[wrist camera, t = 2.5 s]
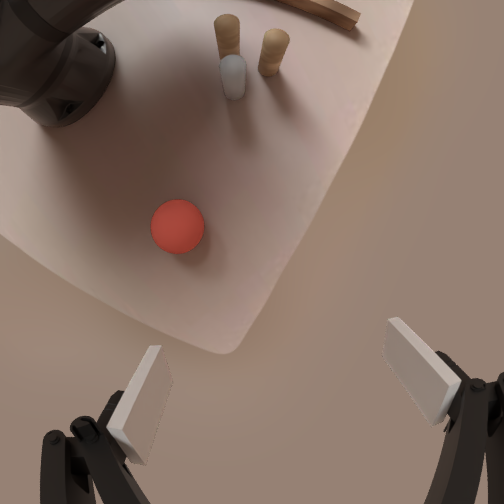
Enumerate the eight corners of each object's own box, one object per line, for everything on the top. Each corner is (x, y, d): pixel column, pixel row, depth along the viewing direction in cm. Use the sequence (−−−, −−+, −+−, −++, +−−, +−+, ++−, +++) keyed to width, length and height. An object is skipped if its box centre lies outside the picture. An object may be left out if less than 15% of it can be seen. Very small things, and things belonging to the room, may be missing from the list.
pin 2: (255, 72, 27) (260, 42, 19) (262, 57, 27) (269, 25, 19) (273, 79, 28) (284, 51, 20) (280, 64, 27) (293, 34, 19)
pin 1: (216, 60, 27) (209, 28, 19) (224, 45, 26) (220, 11, 18) (234, 65, 27) (233, 34, 19) (242, 51, 26) (243, 17, 18)
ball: (153, 235, 33) (136, 249, 27) (167, 190, 31) (152, 194, 25) (197, 252, 33) (189, 269, 28) (214, 207, 32) (208, 214, 26)
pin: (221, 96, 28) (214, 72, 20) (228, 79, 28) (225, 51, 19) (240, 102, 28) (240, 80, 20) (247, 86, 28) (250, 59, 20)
